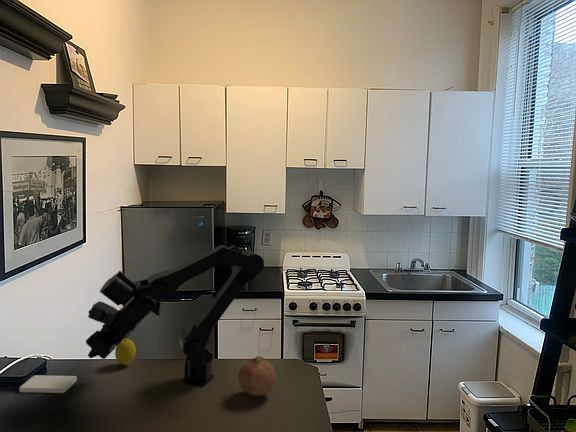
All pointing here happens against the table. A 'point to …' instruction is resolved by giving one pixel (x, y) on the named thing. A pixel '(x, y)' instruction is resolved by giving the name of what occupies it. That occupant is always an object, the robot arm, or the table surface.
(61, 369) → the table surface
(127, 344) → the lemon
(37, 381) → the tile
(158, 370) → the table surface
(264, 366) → the onion
